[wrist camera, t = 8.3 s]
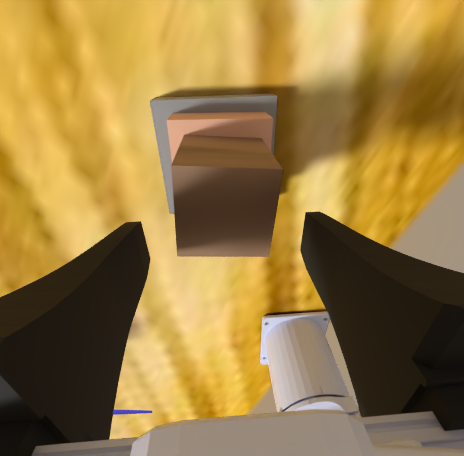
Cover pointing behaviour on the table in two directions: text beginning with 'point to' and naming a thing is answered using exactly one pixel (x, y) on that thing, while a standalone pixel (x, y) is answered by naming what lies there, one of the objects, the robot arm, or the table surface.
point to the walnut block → (225, 196)
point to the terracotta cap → (219, 126)
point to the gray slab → (202, 104)
